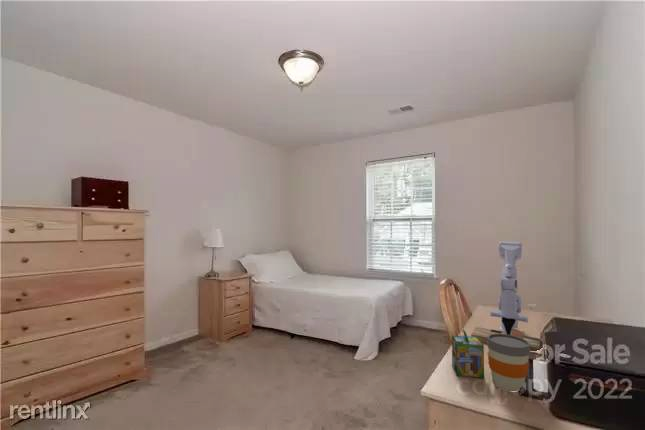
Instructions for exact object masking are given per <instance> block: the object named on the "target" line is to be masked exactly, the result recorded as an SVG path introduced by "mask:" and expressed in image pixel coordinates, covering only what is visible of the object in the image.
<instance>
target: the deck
mask: <svg viewBox="0 0 645 430" xmlns="http://www.w3.org/2000/svg"><path fill="white" fill-rule="evenodd" d="M491 334H507V333H506V332H504V331H500V330H497V329H493V328H492V329H491V328H488V327H482V326H476V327H474V329H473V331H472V332H471V334H470V337H477V338H478V339H479V340H480V342H481V343H485V344H487V341H488V336H489V335H491ZM510 335H512V333H511V334H510ZM523 339H524V340H526V341H527V342H528V343H529V345H530V351H537V350H540V349H541V348H542V345H544V340H543V339H544V332H542V331H540V337H534V336H528V335H524V334H523Z"/></svg>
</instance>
